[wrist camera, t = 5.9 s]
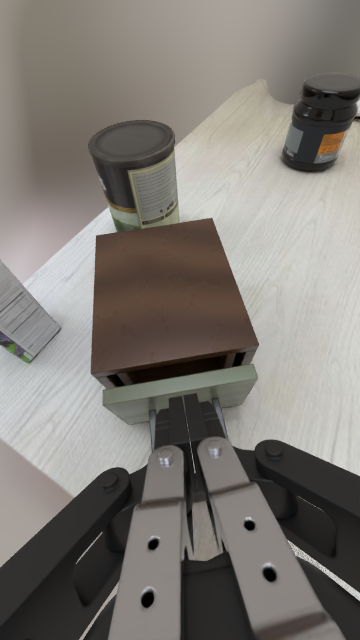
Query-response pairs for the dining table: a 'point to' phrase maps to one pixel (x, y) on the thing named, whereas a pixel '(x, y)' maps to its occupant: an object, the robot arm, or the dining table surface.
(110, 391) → the drawer
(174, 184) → the coffee can
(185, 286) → the cabinet
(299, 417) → the dining table surface
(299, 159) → the supplement container
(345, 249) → the dining table surface
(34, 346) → the syrup box
